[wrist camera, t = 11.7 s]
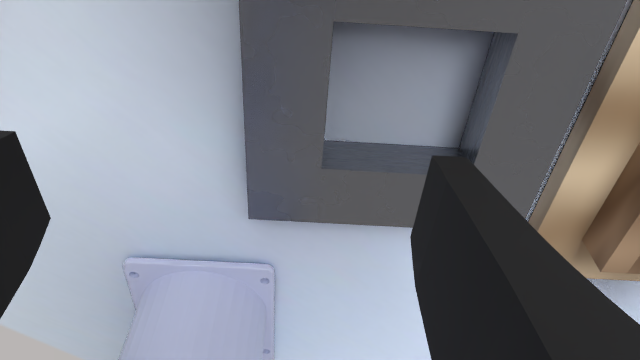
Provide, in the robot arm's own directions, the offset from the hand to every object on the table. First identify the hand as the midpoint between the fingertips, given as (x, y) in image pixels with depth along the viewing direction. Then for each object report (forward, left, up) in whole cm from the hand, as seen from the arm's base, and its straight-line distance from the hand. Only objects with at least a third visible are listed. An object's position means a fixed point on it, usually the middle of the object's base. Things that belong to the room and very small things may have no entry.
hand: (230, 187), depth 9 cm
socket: (-3, -5, -10) cm, 12 cm away
